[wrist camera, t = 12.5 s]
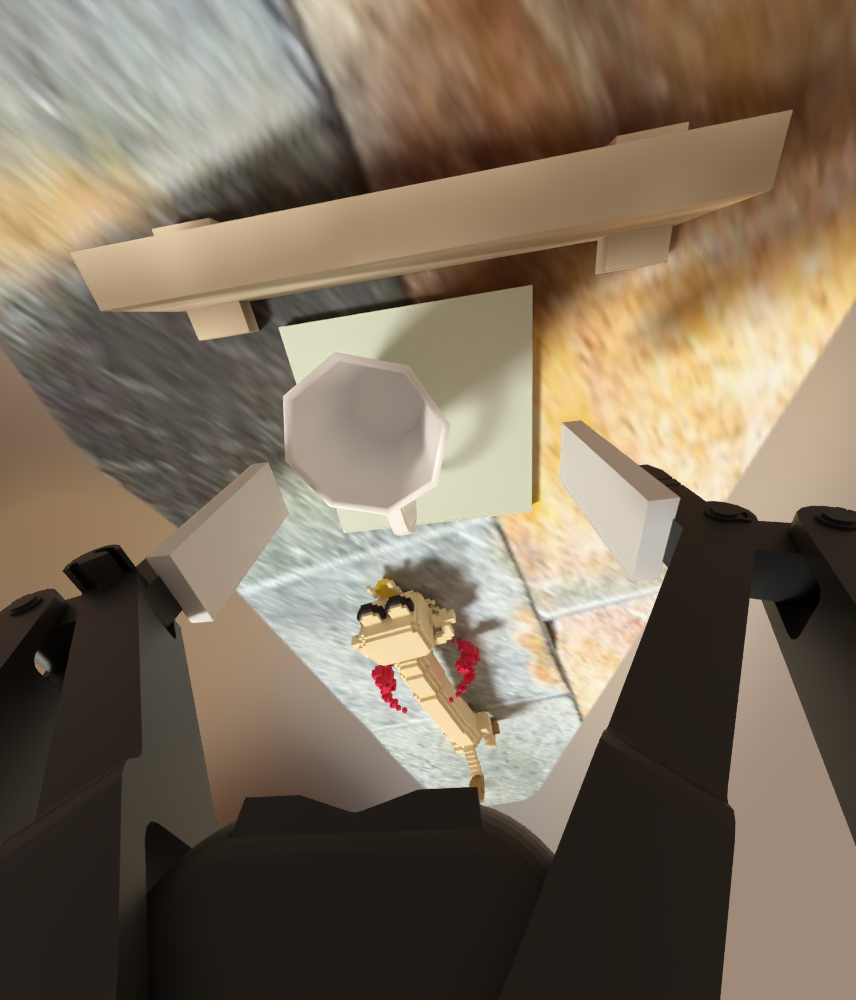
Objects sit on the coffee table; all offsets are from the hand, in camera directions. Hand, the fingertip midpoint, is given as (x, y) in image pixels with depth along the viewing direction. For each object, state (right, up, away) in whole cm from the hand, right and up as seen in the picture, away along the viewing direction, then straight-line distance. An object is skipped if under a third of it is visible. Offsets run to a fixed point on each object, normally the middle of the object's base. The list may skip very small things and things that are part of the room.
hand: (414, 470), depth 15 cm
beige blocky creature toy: (+1, -17, +19) cm, 26 cm away
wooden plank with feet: (0, +12, +3) cm, 12 cm away
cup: (-1, +4, +6) cm, 7 cm away
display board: (0, +3, +7) cm, 8 cm away
